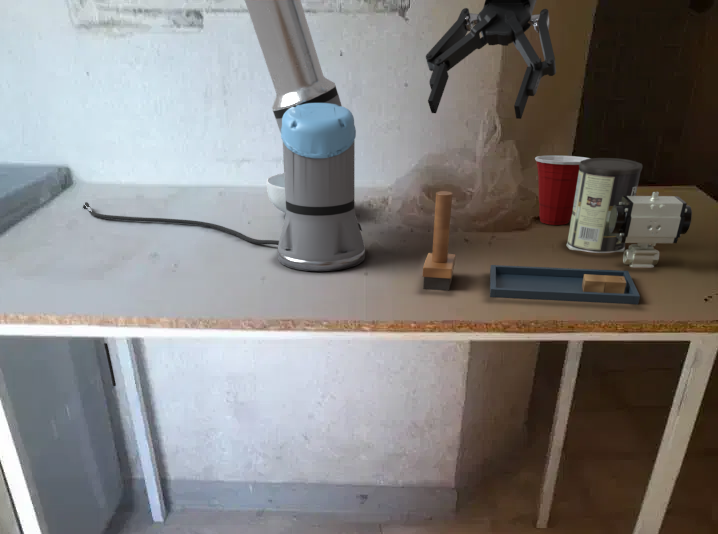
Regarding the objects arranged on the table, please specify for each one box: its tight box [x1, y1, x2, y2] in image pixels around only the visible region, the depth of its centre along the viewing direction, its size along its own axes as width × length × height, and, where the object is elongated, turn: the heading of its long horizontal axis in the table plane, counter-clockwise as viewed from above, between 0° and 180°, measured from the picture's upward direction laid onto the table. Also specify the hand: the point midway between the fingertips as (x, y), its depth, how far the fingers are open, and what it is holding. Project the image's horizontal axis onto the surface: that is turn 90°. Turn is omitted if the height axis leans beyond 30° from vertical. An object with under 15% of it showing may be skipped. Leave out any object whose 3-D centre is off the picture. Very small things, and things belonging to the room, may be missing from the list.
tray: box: [489, 264, 641, 305], centre depth 114 cm, size 22×12×2 cm, turn 81°
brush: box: [422, 190, 456, 292], centre depth 112 cm, size 4×7×14 cm, turn 168°
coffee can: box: [566, 157, 644, 254], centre depth 128 cm, size 10×10×14 cm
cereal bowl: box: [266, 172, 286, 214], centre depth 150 cm, size 17×17×7 cm
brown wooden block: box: [582, 274, 605, 293], centre depth 112 cm, size 3×3×2 cm
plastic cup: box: [534, 155, 591, 226], centre depth 143 cm, size 11×11×12 cm
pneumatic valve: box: [609, 191, 693, 269], centre depth 119 cm, size 6×12×12 cm, turn 86°
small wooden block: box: [603, 275, 626, 294], centre depth 112 cm, size 3×3×2 cm
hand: (473, 110), depth 111 cm, fingers open, 13 cm apart
